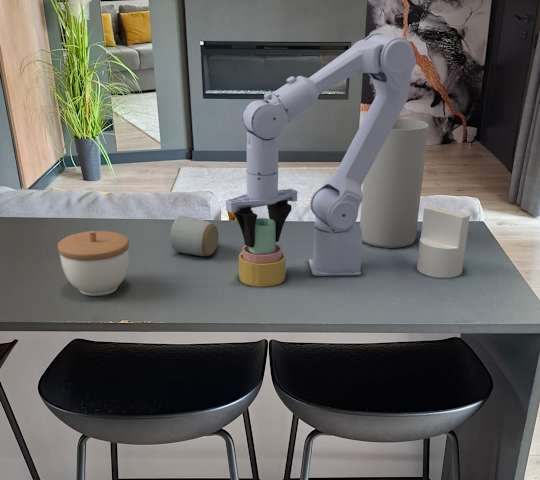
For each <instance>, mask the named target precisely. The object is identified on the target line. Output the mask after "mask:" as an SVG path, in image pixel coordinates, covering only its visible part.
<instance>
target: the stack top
mask: <svg viewBox="0 0 540 480" xmlns="http://www.w3.org/2000/svg"><path fill="white" fill-rule="evenodd" d="M242 252H243V260H245V261H247V262H251V263H257V264H268V263H274V262H278V261H280V260H281V259H282V252H283V248H282V246H281V245H279V244H278V243H275V251H274V252H273V253H271V254H265V255H259V254H254V253H251V252H250V251H249V247H248V246H246V245H245V244H244V246H243V247H242Z"/></svg>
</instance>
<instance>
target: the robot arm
mask: <svg viewBox="0 0 540 480" xmlns="http://www.w3.org/2000/svg"><path fill="white" fill-rule="evenodd" d="M417 63H418V62H417V57H416V55H415V51H414V48H413V45H412V43H411V42H410V41H409V40H408V39H407V38H406V37H403V36H391V35H384V34H382V33H379V32H373V33H371V34H369V35H367V36H366V37H364V39H360V40H358V41H356V42H355V43H354V44H353V45H352V46H351V47H350V48H348V49H347V50H346V51H344V52H343V53H341V54H340V55H338V56H337V57H336V58H334V59H333V60H332V61H330V62H329V63H327V64H326V65H325V66H323V67H322V68H320V69H319V70H318V71H316V72H315V73H314V74H312V75H311V76H309V77H306V76H302V75H298V76H289V77H288V78H286V79H285V81H286V84H283V85H282V86H281V87H279V88H278V89H277V90H275V91H273V92H271V93H270V92H267V93H265V94H264V95H263V100H261V99H259V100H258V99H257V100H254V101H251V102H249V104H248V105H247V106H246V108H245V109H244V111H243V115H242V116H241V119H240V120H241V124H242V126H243V127H244V129H245V130H246V193H245V194H241V195H239V196H236V197H234V198H230V199H229V198H228V199H226V200H225V211H226V212H228V213H230V214H233V215H234V217H235V219H236V221H237V223H238V225H239V227H240V231H241V233H242V236H243V240H244V246H245V245H246V246H248V247H250V248H251V247H254V230H255V223H256V219H257V218H258V214H257V213H255V212H254V210H253V209H255V208H259V207H267V213H268V219H272V220H274V221H275V222H276V241H275V243H278V242H280V237H281V235H282V231H283V228H284V225H285V223H286V220H287V218H288V216H289V215H290V213H291V212H292V205H291V204H290V203H289V202H297V201H298V190H296V189H293V188H287V189H279V136H280V135H281V134H282V132H283V130H284V128H285V125H288V124H289V123H291V122H292V121H294V120H295V119H297V118H298V117H300V116H301V115H303V114H304V113H306V112H307V111H309V110H311V109H312V108H314V107H315V106H316V105H317V102H318V98H319V96H320V95H321V94H323V93H325V92H326V91H328V90H330V89H331V88H334V87H335V86H337V85H339V84H341V83H343V82H344V81H346V80H347V79H349V78H351V77H353V76H354V75H356V74H368V75H369V77H370V78H371V80H372V84H373V87H374V90H375V94H376V95H375V97H374V99H373V100H372V103H371V104H370V107H369V108H368V111H367V112H366V115H365V116H364V118H363V120H362V122H361V123H360V126H359V128H358V130H357V132H356V133H355V136H354V137H353V139H352V141H351V143H350V145H349V146H348V148H347V151H346V153H345V154H344V156H343V158H342V160H341V163H340V164H339V166H338V168H337V170H336V171H335V172H334V173H332V174H331V175H329V176H328V177H326V178H325V180H324V182H323V184H322V185H321V186H320V187H319V188H318V189H317V190H315V191H314V193H313V194H312V195H311V198H310V201H309V208H310V210H311V213H312V214H313V215H314V216H315V219H314V223H313V225H314V226H313V228H314V229H313V250H312V252H313V253H312V258H311V259H309V260H308V263H309V267H310V270H311V273H312V276H314V277H323V276H325V277H327V276H330V277H331V276H332V277H333V276H360V275H361V273H362V272H361V267H362V251H363V241H362V230H361V227H360V225H354V224H355V223H356V222H357V220H358V216H359V208H360V206H361V203H362V199H363V198H362V186H363V181H364V179H365V177H366V176H367V174H368V172H369V170H370V168H371V166H372V164H373V163H374V161H375V159H376V157H377V155H378V153H379V151H380V150H381V148H382V146H383V144H384V142H385V140H386V138H387V137H388V135H389V133H390V131H391V129H392V127H393V125H394V124H395V122H396V120H397V118H399V116H400V114H401V112H402V111H403V109H404V107H405V105H406V103H407V101H408V99H409V96H410V89H411V88H410V87H411V80H412V73H413V70H414V68H415V67H416V65H417Z"/></svg>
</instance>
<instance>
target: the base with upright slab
mask: <svg viewBox="0 0 540 480" xmlns="http://www.w3.org/2000/svg"><path fill="white" fill-rule="evenodd" d="M470 219H471V213H467V212H464V211H459V210H454V209H450V208H446V207H442V206H437V205H434V204H431V205H426V206H425V207H424V208H423V215H422V223H421V230H420V231H421V232H420V238H419V242H418V243H419V244H418V253H417V261H416V269H417V271H418V272H419V273H421V274H423V275H425V276H428V277H432V278H440V279H441V278H442V279H447V278H454V277H459V276H460V275H462V273H463V269H464V261H465V257H466V256H465V255H466V248H467V240H468V233H469V226H470Z"/></svg>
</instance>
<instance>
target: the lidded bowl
mask: <svg viewBox="0 0 540 480" xmlns="http://www.w3.org/2000/svg"><path fill="white" fill-rule="evenodd" d="M129 247H130V242H129V239H128V237H126V235H124V234H122V233H118V232H115V231H114V232H113V231H109V230H108V231H107V230H89V231H82V232H78V233H77V232H76V233H73V234H70V235H67V236H66V237H64V238H62V239H61V240H60V241H59V242H58V243H57V251H58V253H59V259H60V265H61V268H62V271H63V274H64V276H65V278H66V279H67V281H68V282H69V283H70V284H71V286H73V287H74V288H75V289H77V290H78V291H79V292H80V293H81V294H82V295H86V296H90V297H91V296H93V297H97V296H99V297H100V296H106V295H109V294H112V293H114V292H116V291H117V290H118V288H119V286H120V285H121V284H122V283H123V282H124V280H125V279H126V278H127V277H126V276H127V274H128V271H129V265H130V250H129Z"/></svg>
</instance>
